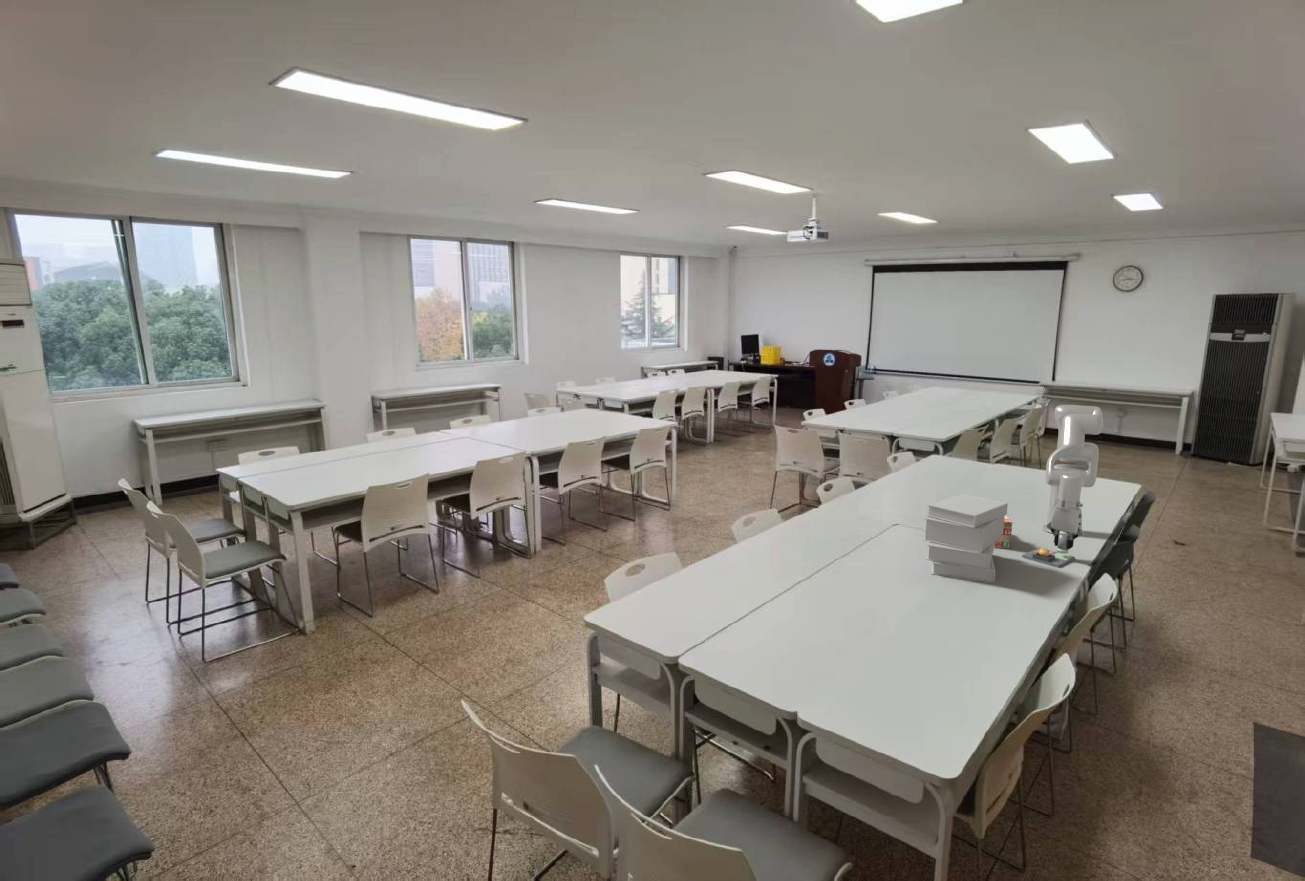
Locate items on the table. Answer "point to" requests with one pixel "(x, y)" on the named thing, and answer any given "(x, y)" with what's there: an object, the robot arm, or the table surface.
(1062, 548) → the green grey cylinder
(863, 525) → the table surface
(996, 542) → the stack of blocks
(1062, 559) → the board
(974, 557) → the book stack
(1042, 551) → the button
